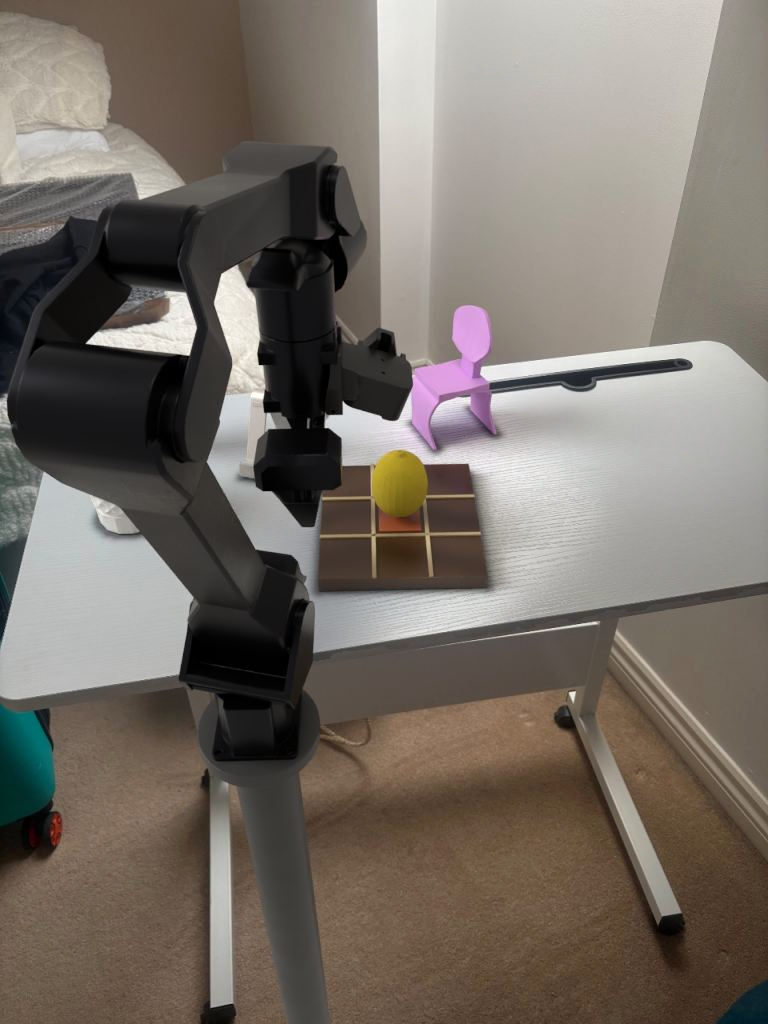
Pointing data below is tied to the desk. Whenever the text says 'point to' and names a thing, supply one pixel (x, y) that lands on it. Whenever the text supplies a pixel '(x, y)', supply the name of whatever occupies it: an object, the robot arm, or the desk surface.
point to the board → (401, 536)
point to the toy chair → (456, 373)
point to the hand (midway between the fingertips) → (310, 491)
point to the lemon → (399, 483)
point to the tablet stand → (259, 429)
